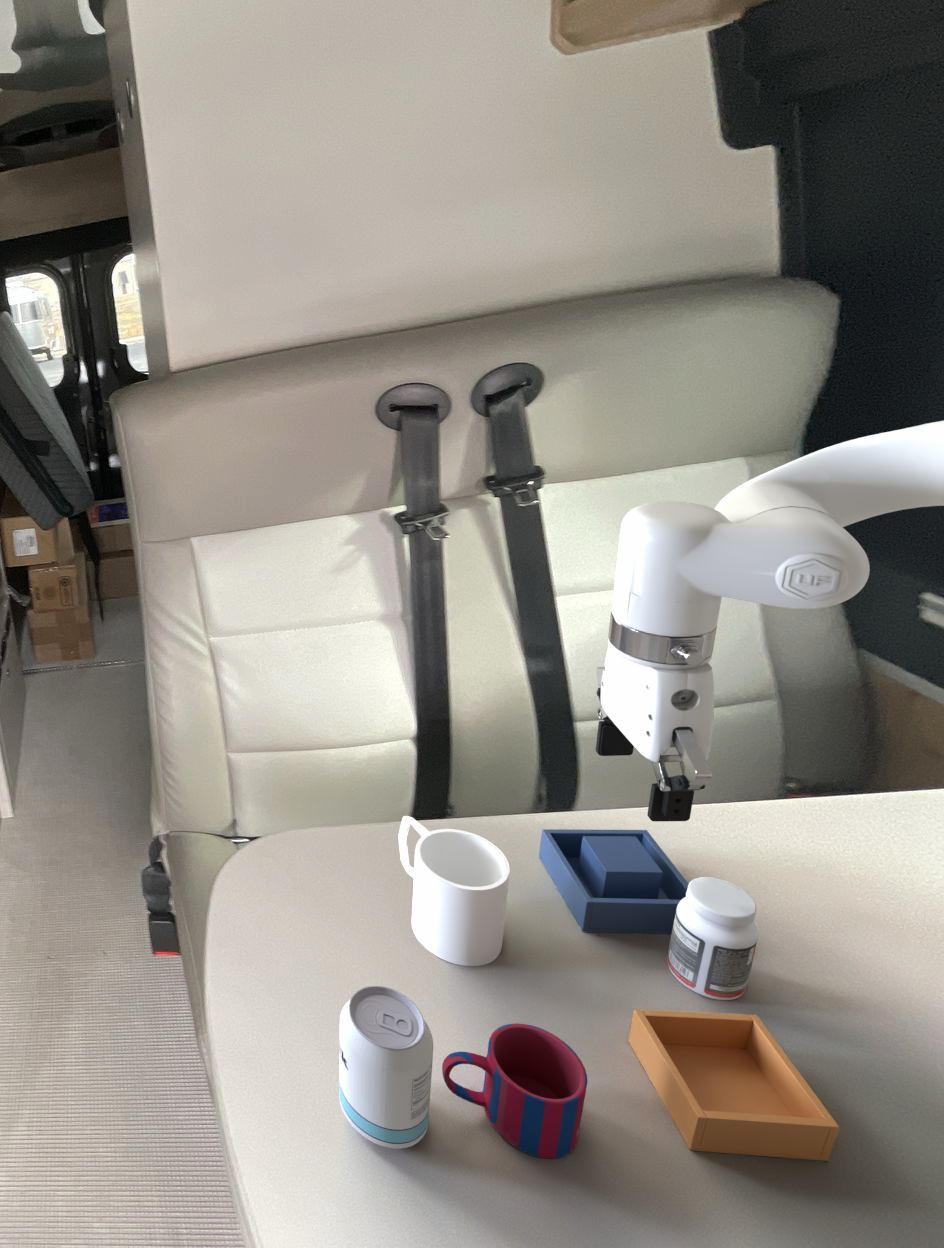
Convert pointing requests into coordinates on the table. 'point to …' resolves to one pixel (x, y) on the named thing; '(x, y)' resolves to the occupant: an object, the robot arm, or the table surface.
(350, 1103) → the beverage can
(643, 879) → the block
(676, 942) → the pill bottle
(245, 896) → the table surface
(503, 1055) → the cup
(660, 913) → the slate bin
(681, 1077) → the tan bin
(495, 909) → the cup
